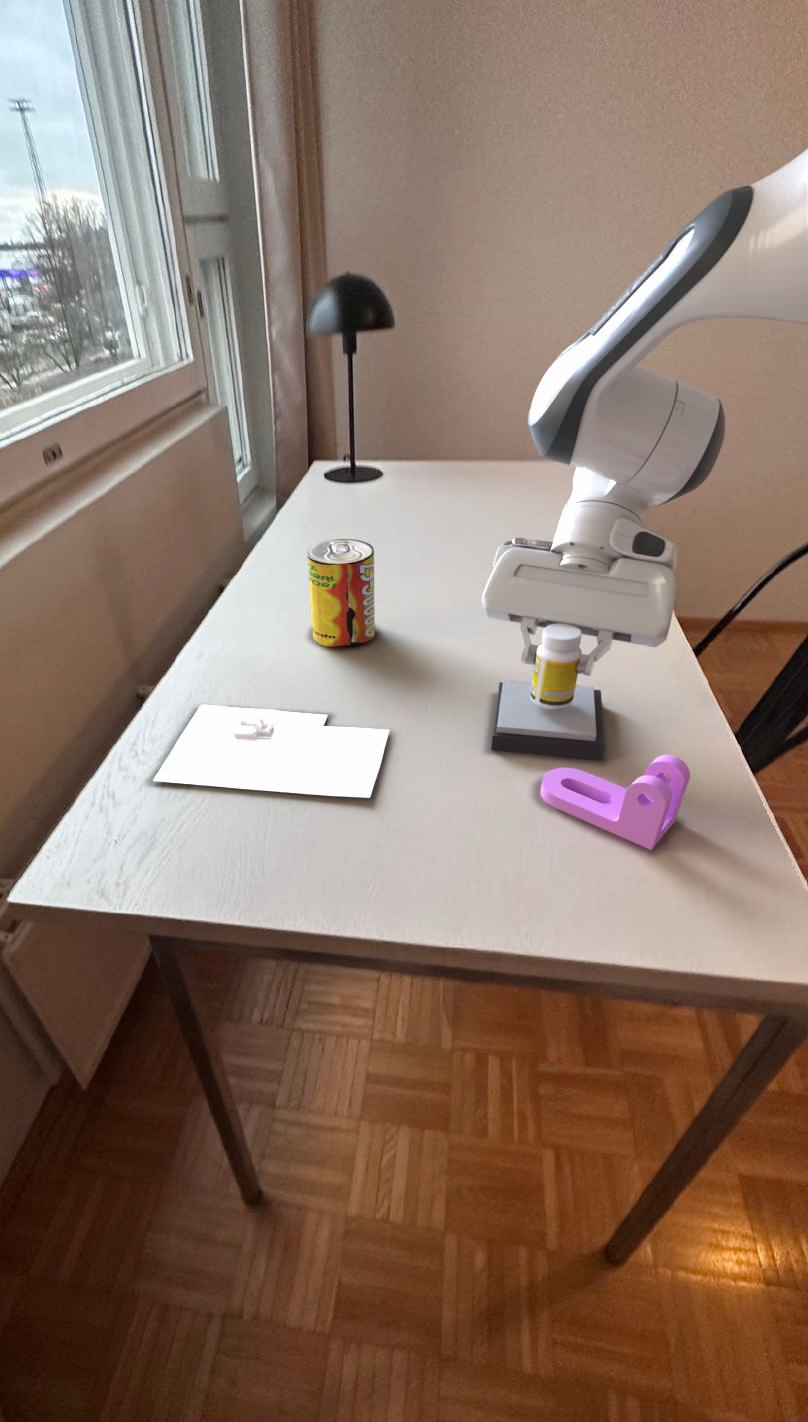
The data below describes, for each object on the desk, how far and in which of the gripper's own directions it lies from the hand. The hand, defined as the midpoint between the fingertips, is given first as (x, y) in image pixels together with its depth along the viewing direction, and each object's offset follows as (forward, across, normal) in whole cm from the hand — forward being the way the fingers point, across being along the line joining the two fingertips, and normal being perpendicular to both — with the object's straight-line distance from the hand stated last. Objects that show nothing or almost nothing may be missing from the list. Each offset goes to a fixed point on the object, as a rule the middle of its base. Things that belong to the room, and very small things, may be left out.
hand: (555, 667), depth 80 cm
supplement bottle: (+3, 0, +4) cm, 5 cm away
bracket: (+14, +9, -3) cm, 17 cm away
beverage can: (-3, -33, +15) cm, 36 cm away
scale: (+5, 0, +6) cm, 8 cm away
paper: (+18, -26, -6) cm, 32 cm away
